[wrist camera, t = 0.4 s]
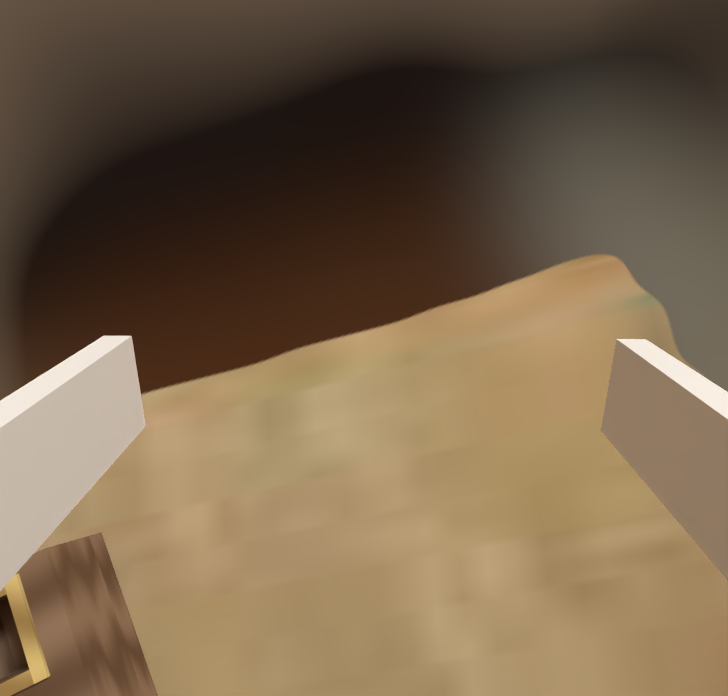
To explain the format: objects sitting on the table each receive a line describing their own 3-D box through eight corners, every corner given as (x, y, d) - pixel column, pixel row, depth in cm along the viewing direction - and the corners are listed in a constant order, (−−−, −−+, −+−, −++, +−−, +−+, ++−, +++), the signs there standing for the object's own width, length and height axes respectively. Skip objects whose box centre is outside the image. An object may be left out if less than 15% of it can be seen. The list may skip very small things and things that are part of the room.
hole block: (173, 741, 42) (126, 810, 34) (33, 813, 41) (-49, 901, 33) (101, 532, 46) (42, 549, 38) (-30, 594, 45) (-119, 625, 37)
